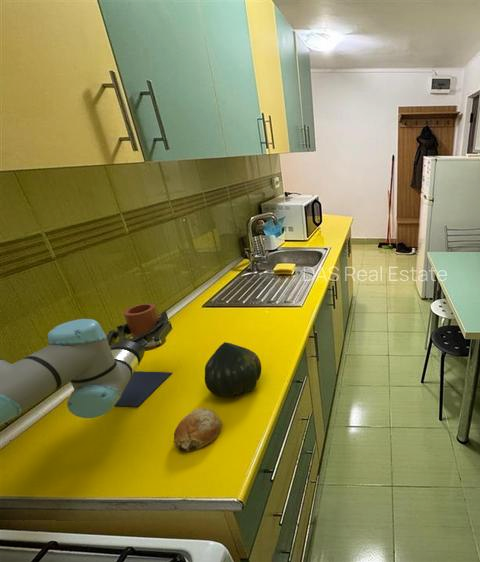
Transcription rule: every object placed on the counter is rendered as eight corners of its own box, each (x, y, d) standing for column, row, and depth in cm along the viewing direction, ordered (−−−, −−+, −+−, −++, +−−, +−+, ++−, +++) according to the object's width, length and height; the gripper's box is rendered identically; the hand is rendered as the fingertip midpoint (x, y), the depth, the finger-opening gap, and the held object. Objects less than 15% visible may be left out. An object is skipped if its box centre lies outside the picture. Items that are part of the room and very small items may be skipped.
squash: (245, 396, 79) (250, 338, 84) (188, 399, 79) (197, 341, 84) (265, 394, 93) (268, 345, 97) (217, 397, 93) (222, 347, 97)
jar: (133, 353, 87) (118, 317, 83) (141, 339, 94) (129, 305, 89) (162, 348, 90) (150, 312, 85) (169, 335, 96) (158, 301, 91)
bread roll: (227, 444, 76) (233, 413, 76) (185, 462, 67) (192, 427, 67) (203, 428, 81) (209, 398, 81) (162, 442, 72) (168, 409, 72)
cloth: (73, 405, 84) (72, 403, 84) (115, 371, 97) (115, 370, 97) (138, 407, 83) (137, 406, 83) (172, 373, 96) (171, 372, 96)
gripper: (74, 383, 72) (115, 334, 92) (172, 364, 78) (190, 322, 98) (61, 357, 69) (106, 312, 89) (164, 340, 75) (184, 301, 95)
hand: (150, 317), depth 93 cm, fingers closed on jar, 7 cm apart
